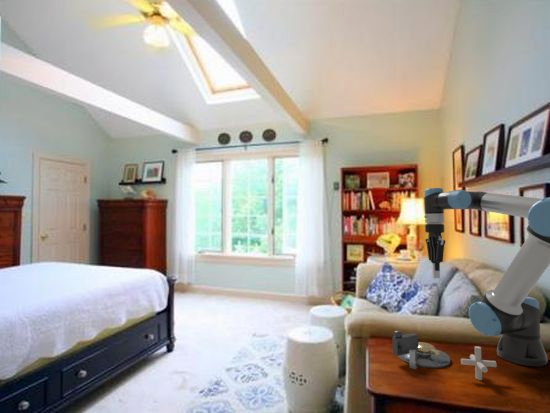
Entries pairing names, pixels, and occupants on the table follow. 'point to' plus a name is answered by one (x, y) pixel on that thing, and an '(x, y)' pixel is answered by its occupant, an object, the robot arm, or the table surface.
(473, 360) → the pipe connector
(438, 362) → the post plate
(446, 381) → the table surface
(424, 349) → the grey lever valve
